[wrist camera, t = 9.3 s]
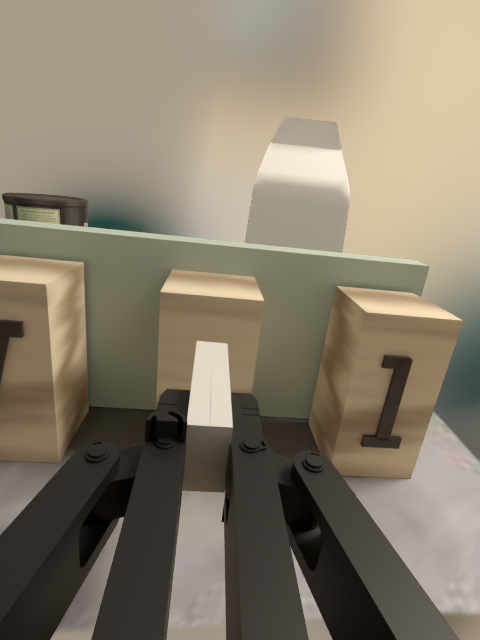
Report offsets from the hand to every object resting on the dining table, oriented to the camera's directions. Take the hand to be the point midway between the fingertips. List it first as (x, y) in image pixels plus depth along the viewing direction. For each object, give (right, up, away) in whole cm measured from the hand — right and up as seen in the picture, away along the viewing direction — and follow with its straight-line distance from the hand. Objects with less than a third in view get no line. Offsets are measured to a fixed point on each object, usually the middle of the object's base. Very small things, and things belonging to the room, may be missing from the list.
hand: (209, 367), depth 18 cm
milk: (+7, 0, +32) cm, 33 cm away
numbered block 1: (+10, -8, +10) cm, 17 cm away
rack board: (-2, -5, +14) cm, 15 cm away
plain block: (-1, -6, +10) cm, 12 cm away
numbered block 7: (-13, -6, +8) cm, 17 cm away
